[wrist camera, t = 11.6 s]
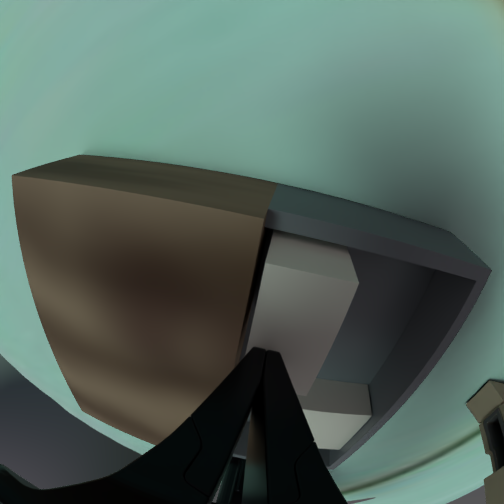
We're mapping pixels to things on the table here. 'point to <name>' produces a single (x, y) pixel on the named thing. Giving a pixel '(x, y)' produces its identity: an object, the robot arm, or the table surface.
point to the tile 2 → (335, 411)
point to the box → (381, 299)
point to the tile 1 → (302, 303)
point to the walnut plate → (141, 280)
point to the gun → (491, 435)
